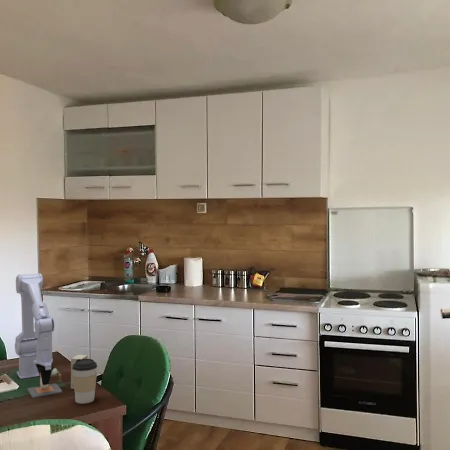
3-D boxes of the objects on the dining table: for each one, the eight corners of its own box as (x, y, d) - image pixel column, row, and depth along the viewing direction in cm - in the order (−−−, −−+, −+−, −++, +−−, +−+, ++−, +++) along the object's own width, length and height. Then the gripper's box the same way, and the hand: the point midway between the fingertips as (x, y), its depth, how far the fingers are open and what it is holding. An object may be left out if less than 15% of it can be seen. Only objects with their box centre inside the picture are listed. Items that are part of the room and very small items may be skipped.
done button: (46, 376, 209) (46, 369, 209) (55, 374, 211) (55, 367, 211) (48, 379, 206) (48, 371, 206) (57, 377, 208) (57, 370, 208)
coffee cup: (102, 397, 191) (102, 358, 191) (88, 406, 183) (88, 365, 182) (81, 394, 194) (81, 355, 194) (67, 402, 186) (67, 362, 185)
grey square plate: (27, 389, 199) (27, 387, 199) (56, 384, 204) (56, 383, 204) (32, 397, 190) (32, 396, 190) (62, 392, 196) (62, 390, 196)
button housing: (43, 380, 209) (43, 373, 209) (57, 377, 212) (57, 370, 212) (46, 384, 204) (46, 377, 204) (61, 382, 207) (61, 375, 207)
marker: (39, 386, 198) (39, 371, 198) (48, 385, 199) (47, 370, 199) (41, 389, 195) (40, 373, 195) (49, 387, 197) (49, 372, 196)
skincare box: (80, 390, 199) (80, 359, 198) (70, 389, 200) (70, 358, 199) (88, 384, 205) (88, 354, 205) (78, 383, 206) (78, 354, 205)
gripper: (30, 345, 201) (30, 379, 201) (37, 354, 188) (37, 390, 189) (48, 343, 204) (48, 376, 205) (56, 352, 192) (57, 387, 193)
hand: (44, 383), depth 197 cm, fingers closed on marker, 3 cm apart
